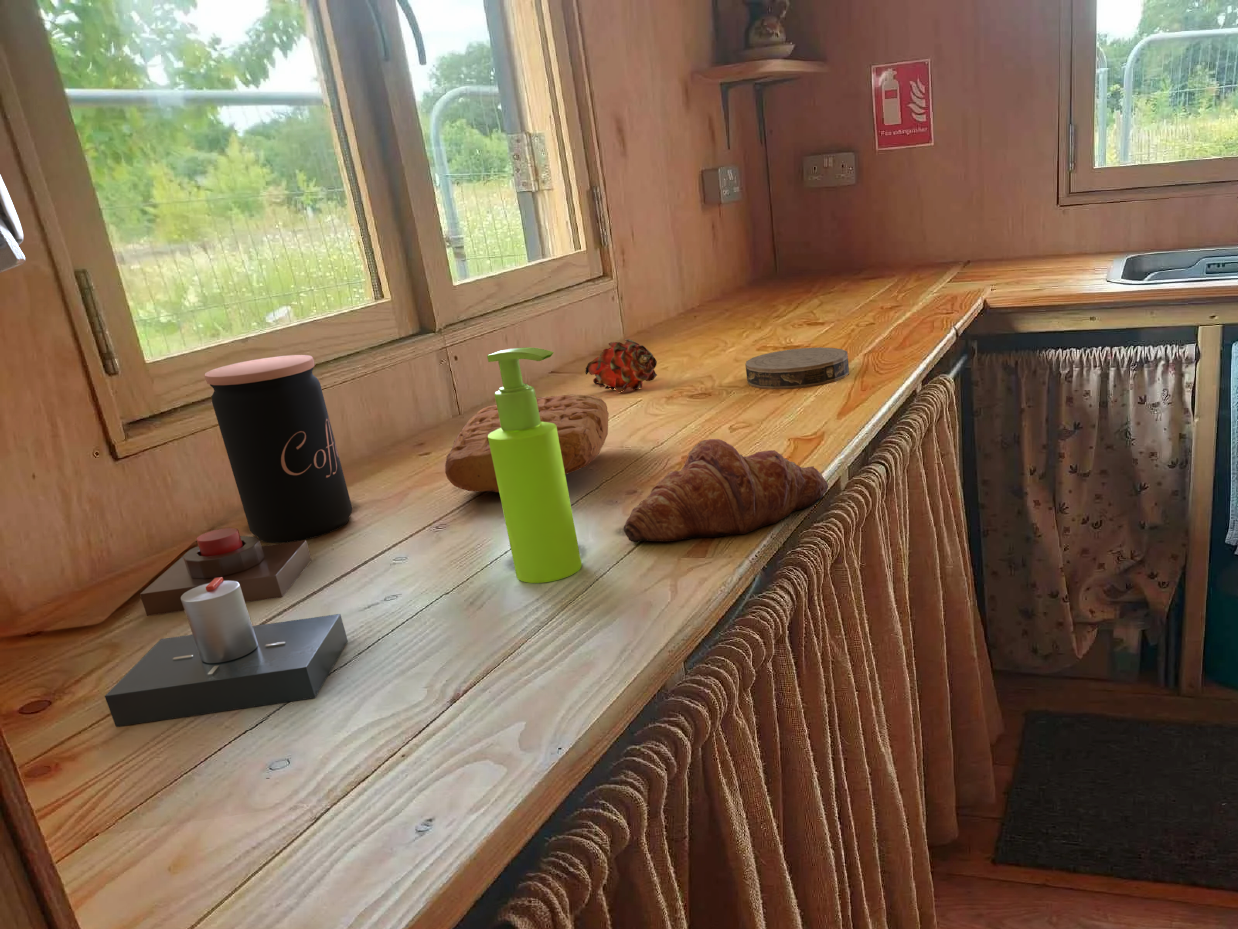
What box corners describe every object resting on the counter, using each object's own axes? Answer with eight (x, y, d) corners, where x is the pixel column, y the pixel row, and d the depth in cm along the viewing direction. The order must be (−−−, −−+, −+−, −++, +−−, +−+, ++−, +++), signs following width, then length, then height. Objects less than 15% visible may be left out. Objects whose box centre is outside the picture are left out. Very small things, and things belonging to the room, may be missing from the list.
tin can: (726, 384, 170) (724, 365, 169) (799, 363, 179) (797, 345, 178) (796, 392, 158) (795, 372, 157) (870, 370, 168) (869, 350, 167)
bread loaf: (493, 458, 141) (480, 397, 138) (623, 445, 140) (614, 383, 137) (440, 512, 120) (425, 441, 117) (593, 497, 119) (581, 426, 116)
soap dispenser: (570, 585, 95) (528, 355, 88) (504, 581, 97) (456, 358, 90) (603, 560, 100) (565, 341, 93) (538, 558, 102) (496, 344, 95)
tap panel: (115, 726, 78) (103, 693, 77) (170, 666, 87) (160, 636, 86) (315, 697, 79) (305, 665, 78) (348, 641, 88) (340, 611, 87)
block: (147, 616, 99) (133, 575, 97) (188, 577, 108) (176, 539, 106) (282, 597, 100) (270, 556, 98) (312, 560, 109) (301, 522, 107)
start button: (196, 561, 101) (190, 543, 100) (209, 548, 104) (204, 530, 103) (235, 555, 101) (230, 537, 100) (248, 542, 104) (243, 525, 104)
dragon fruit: (666, 398, 172) (597, 413, 175) (669, 358, 176) (602, 374, 180) (643, 362, 165) (572, 378, 168) (648, 322, 169) (579, 338, 173)
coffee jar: (309, 546, 113) (262, 374, 107) (230, 544, 117) (179, 378, 110) (375, 512, 122) (335, 352, 116) (299, 512, 126) (256, 356, 119)
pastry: (700, 490, 117) (690, 417, 114) (834, 493, 111) (827, 417, 108) (622, 545, 103) (609, 464, 100) (771, 552, 97) (761, 466, 94)
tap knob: (247, 659, 80) (226, 593, 78) (192, 666, 80) (169, 600, 78) (265, 637, 84) (246, 573, 82) (212, 644, 84) (191, 580, 82)
